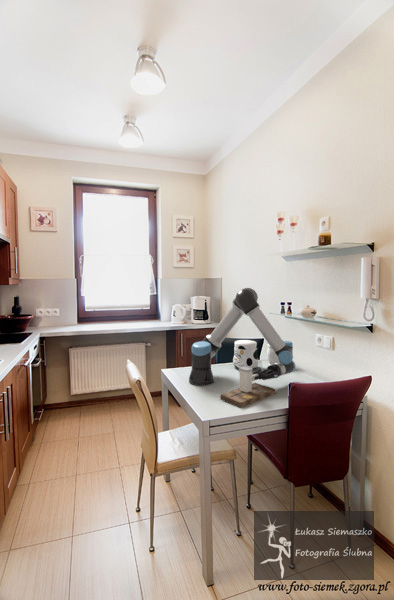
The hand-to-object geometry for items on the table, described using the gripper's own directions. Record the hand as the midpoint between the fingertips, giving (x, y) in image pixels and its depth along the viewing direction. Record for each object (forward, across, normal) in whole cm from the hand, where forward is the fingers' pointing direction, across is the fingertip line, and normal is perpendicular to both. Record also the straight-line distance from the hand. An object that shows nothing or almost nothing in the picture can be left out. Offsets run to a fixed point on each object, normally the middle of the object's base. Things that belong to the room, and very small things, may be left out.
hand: (249, 379), depth 169 cm
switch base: (+2, -1, -9) cm, 9 cm away
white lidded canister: (+2, +1, -6) cm, 6 cm away
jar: (-57, +25, -9) cm, 63 cm away
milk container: (-38, +36, -9) cm, 53 cm away
